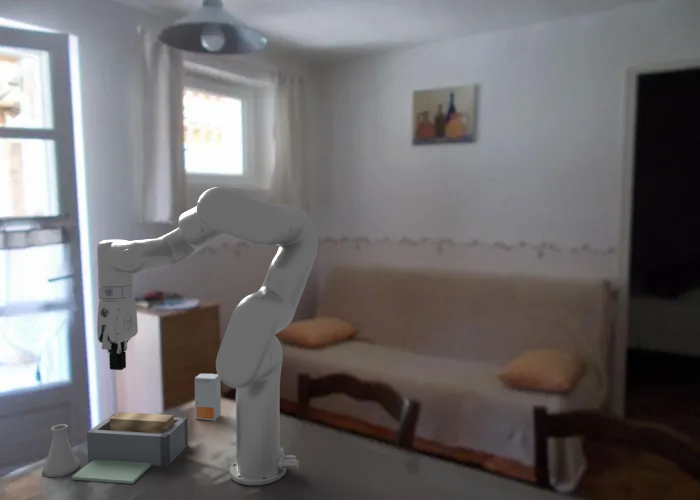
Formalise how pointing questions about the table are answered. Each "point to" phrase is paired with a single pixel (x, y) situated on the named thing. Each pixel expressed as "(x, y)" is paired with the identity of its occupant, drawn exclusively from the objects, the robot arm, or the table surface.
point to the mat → (112, 471)
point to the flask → (60, 454)
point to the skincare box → (207, 396)
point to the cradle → (137, 444)
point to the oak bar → (141, 422)
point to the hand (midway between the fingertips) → (117, 368)
